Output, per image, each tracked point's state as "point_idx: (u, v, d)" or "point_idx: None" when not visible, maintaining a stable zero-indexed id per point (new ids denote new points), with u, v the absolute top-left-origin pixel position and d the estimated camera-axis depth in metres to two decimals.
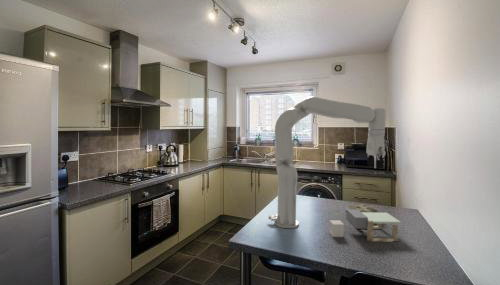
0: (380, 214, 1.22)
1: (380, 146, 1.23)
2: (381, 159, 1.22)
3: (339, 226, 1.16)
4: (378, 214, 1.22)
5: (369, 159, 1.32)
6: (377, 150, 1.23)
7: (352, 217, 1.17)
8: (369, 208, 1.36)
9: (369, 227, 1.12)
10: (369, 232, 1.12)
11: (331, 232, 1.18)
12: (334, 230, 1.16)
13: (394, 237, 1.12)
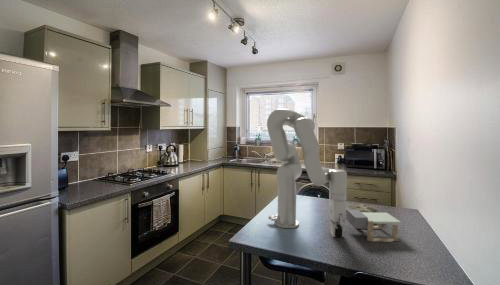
0: (380, 214, 1.22)
1: (340, 213, 1.13)
2: (339, 228, 1.15)
3: None
4: (378, 214, 1.22)
5: None
6: (336, 219, 1.14)
7: (352, 217, 1.17)
8: (369, 208, 1.36)
9: (369, 227, 1.12)
10: (369, 232, 1.12)
11: (331, 232, 1.18)
12: (334, 230, 1.16)
13: (394, 237, 1.12)
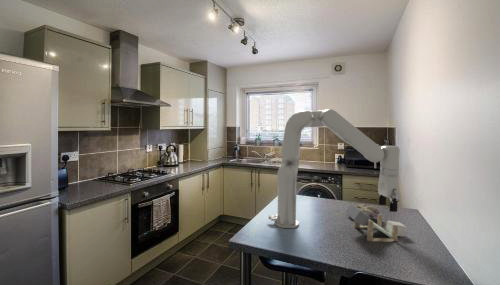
0: None
1: (394, 188, 1.13)
2: (395, 202, 1.12)
3: (402, 232, 1.17)
4: (375, 223, 1.23)
5: (381, 198, 1.23)
6: (390, 192, 1.13)
7: (355, 210, 1.17)
8: (370, 208, 1.36)
9: (369, 227, 1.12)
10: (369, 232, 1.12)
11: (393, 223, 1.19)
12: (399, 227, 1.17)
13: (394, 237, 1.12)
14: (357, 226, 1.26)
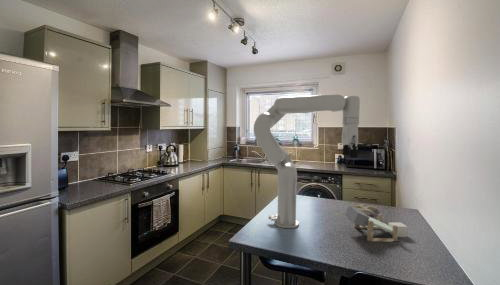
0: (378, 221, 1.23)
1: (353, 134, 1.19)
2: (354, 148, 1.18)
3: (404, 232, 1.17)
4: (377, 220, 1.23)
5: (344, 149, 1.29)
6: (350, 139, 1.19)
7: (354, 212, 1.17)
8: (370, 208, 1.36)
9: (369, 227, 1.12)
10: (369, 232, 1.12)
11: None
12: (400, 228, 1.17)
13: (394, 237, 1.12)
14: (357, 226, 1.26)
